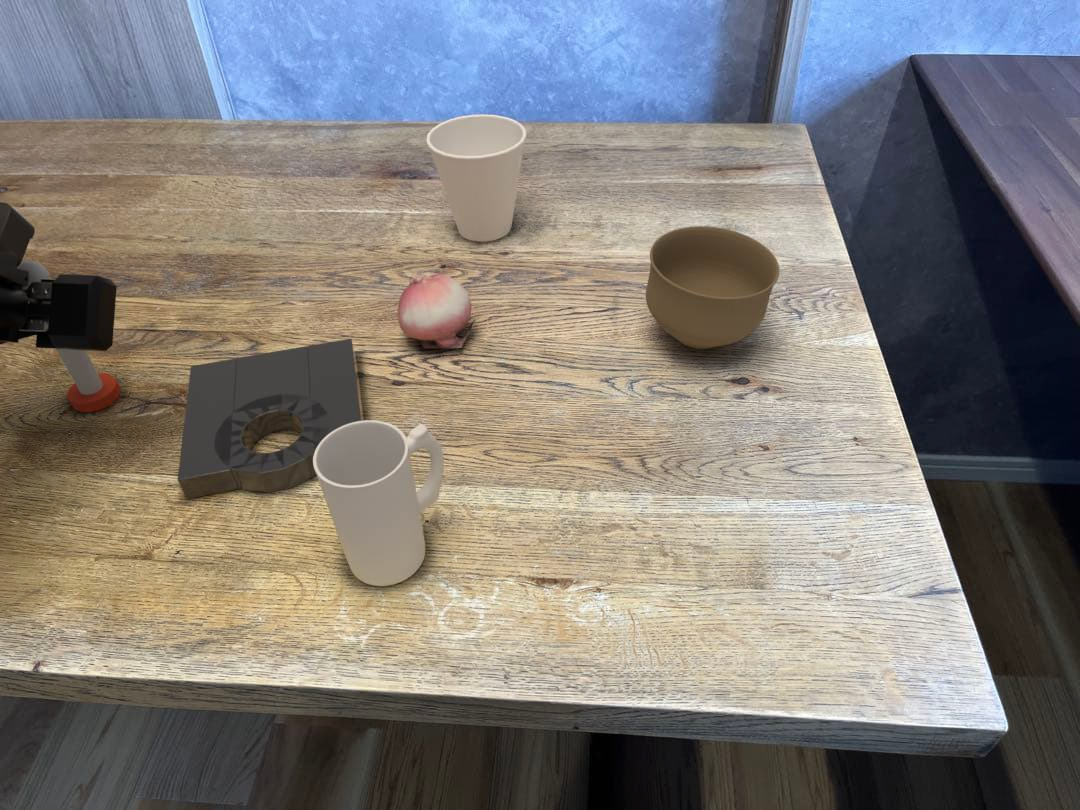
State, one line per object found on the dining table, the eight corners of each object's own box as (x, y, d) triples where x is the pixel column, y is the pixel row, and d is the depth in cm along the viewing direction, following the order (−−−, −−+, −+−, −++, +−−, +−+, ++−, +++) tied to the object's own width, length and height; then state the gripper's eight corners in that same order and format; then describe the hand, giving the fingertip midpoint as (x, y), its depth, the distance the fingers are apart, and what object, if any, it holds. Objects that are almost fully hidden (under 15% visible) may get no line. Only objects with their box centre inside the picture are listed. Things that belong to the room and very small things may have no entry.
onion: (457, 307, 92) (451, 251, 87) (488, 343, 87) (483, 286, 82) (391, 329, 89) (380, 274, 84) (419, 368, 84) (409, 311, 79)
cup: (535, 205, 108) (531, 114, 100) (525, 253, 99) (520, 157, 91) (447, 204, 109) (436, 113, 101) (430, 251, 101) (416, 156, 92)
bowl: (763, 383, 80) (780, 299, 74) (635, 367, 83) (639, 284, 76) (767, 309, 89) (782, 228, 83) (651, 296, 92) (657, 217, 85)
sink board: (185, 509, 71) (176, 489, 69) (198, 384, 83) (190, 365, 82) (370, 472, 73) (365, 453, 72) (356, 357, 86) (351, 338, 84)
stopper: (86, 418, 80) (9, 284, 69) (63, 399, 82) (-14, 266, 72) (129, 394, 83) (61, 260, 72) (106, 376, 85) (37, 243, 74)
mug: (376, 605, 63) (346, 503, 55) (329, 555, 67) (294, 452, 59) (476, 533, 68) (462, 429, 60) (428, 490, 72) (408, 386, 63)
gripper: (54, 193, 62) (168, 243, 77) (-168, 188, 64) (-13, 237, 79) (43, 339, 61) (160, 360, 77) (-180, 330, 63) (-22, 351, 79)
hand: (70, 323), depth 78 cm, fingers closed
